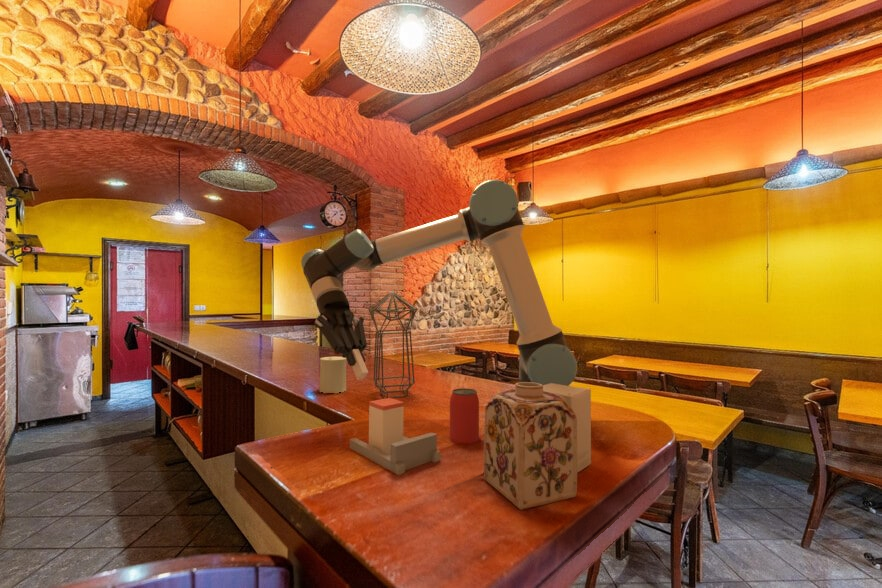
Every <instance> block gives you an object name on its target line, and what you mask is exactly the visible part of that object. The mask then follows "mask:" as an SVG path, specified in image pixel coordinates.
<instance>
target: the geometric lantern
mask: <svg viewBox="0 0 882 588" xmlns="http://www.w3.org/2000/svg"><path fill="white" fill-rule="evenodd" d="M389 298H390V299H389ZM388 299H389V302H388V306H387V308H385V309H384V308H381V307H382V306H383V305H384V304H385V303H386V302H387V301H388ZM397 301H398V302H400V304H401V305H402V307H398V303H397ZM392 304H394V308H395V309H394V308H393V309H392ZM367 310H368V312H369V315H370V317H371V320H372V323H373V324H374V327H375V331H374V332H375V335H374V337H375V339H374V341H375V342H374V358H373V359H374V360H373V363H374V364H373V376H372V377H373V379H372V380H373V384H374V386H375V388H377V389H378V390H379V393H380V395H381V394H382V395H383V396H382V395H381V396H382V397H383V398H384V397H389V395H388V394H389V393H396V392H400V391H404V392H405V393H406V394H405V393H404V392H403V393H404V394H405V396H407V397H408V396H409V389H410V388H411V387H412V386H413V385H414V384H415V383H416V380H415V368H414V367H415V366H414V356H413V354H414V353H413V341H412V325H413V321H414V319H415V316H416V313H417V311H419V310H420V309H419V308H418V307H416V306H415V305H414V304H412V303H410V302H409V301H408V300H406V299H405V298H403V297H402V296H400V295H399V294H397V293H396V292H389V293H388V294H386V295H385V296H384V297H382V298H381V299H379V300H378V301H377V302H376V303H374V304H373V305H371V306H370V307H369V308H367ZM375 312H376V313H378V314H380V315H381V316H382V317H383V318H384V320H383V322H382V324H381V327H380V329H378V326H377V322H376V319H375ZM382 312H383V313H382ZM385 312H386V314H384V313H385ZM405 312H406V313H405ZM393 313H394V316H391V314H393ZM401 313H405V314H403V315H401ZM400 315H401V316H400ZM407 315H410V317H409V321H408V323H407V326H406V327H405V325H404V324H403V322H402V320H401V319H402V318H404V317H406V316H407ZM387 320H388V322H387ZM394 321H397V323H398V324H399V325H400V327H401V329H387V327H388V325H389V324H390V323H391V322H394ZM386 322H387V323H386ZM385 323H386V325H385ZM384 325H385V327H384ZM409 326H410V329H409ZM383 327H384V328H383ZM408 329H409V330H408ZM395 331H396V332H395ZM397 331H400V332H397ZM396 334H397V335H400V334H401V335H402V375H400V376H399V375H398V376H388V377H387V376H386V377H385V376H384V355H383V354H384V351H383V335H396ZM408 334H409V337H408ZM405 346H406V347H405ZM409 346H410V351H409ZM405 348H406V362H407V373H408V376H406V375H405ZM410 358H411V359H410ZM410 360H411V365H410ZM380 369H381V374H380ZM411 372H412V377H411ZM380 375H381V376H380ZM404 378H405V379H407V380H406V381H405V382H404V383H403V380H404ZM389 379H390V380H391V379H401V382H400V384H386V385H385V383H384V380H389ZM407 382H408V383H407ZM391 387H392V388H393V387H399V390H387V389H386V388H391ZM401 388H402V390H401ZM385 391H386V392H385ZM381 392H384V393H381ZM401 396H402V395H397V396H395V395H394V396H392V397H394V398H402V397H401Z"/></svg>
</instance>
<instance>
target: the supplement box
mask: <svg viewBox="0 0 882 588" xmlns="http://www.w3.org/2000/svg"><path fill="white" fill-rule="evenodd" d="M543 391H545V392H550V393H554V394H556V395H559V396H562V397H563V398H564V399H565V400H566V402H567V403H568V405H569V406H570V407H571V408H572V410H573V411H574V413H575V414H576V416H577V474H578V473H579V472H581V471H582V470H584V469H585V468H587V467H588V466H590V465H591V464H592V438H591V437H592V428H591V427H592V422H591V421H592V417H591V416H592V412H591V411H592V404H591V403H592V396H591V394H592V392H591V391H592V390H591V389H589V388H584V387H578V386H571V385H569V386H566V385H560V384H554V383H550V384H546V385H543Z"/></svg>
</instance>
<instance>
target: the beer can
mask: <svg viewBox="0 0 882 588" xmlns="http://www.w3.org/2000/svg"><path fill="white" fill-rule="evenodd" d="M479 435H480V400H479V396H478V392H477V390H475V389H474V388H466V387H465V388H464V387H462V388H455V389H454V388H453V390H452V391H451V395H450V400H449V437H448V438H449V440H450V441H452V442H454V443H457V444H472V443H477V441H479V440H480V437H479Z"/></svg>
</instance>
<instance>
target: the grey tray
mask: <svg viewBox="0 0 882 588" xmlns="http://www.w3.org/2000/svg"><path fill="white" fill-rule="evenodd" d="M349 449H350V450H353V451H355V452H356V453H358V454H359V455H362V456H363V457H364V458H367V459H368V460H370V461H371V462H374V463H376V464H377V465H379V466H380V467H383V468H384V469H386V470H388V471H391V472H392V473H394V474H395V475H396V476H401V475H403V474H405V473H406V471H407V470H410V469H412V468H415V467H419V466H421V465H424V464H427V463H429V462H432V463H438V462H440V461H441V450H438V434H437V433H434V432H429V433H425V434H422V435H418V436H415V437H411V438H409V437H407V436H405V435H403V441H400V442H396V443H393V444H391V450H390V455H388V454H386V453H384V452H382V451H380V450H378V449H376V448H374V447H372V446H370V445H369V443H367V442H364V441H362V440H361V439H359V438H357V437H354V438H349Z"/></svg>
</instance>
